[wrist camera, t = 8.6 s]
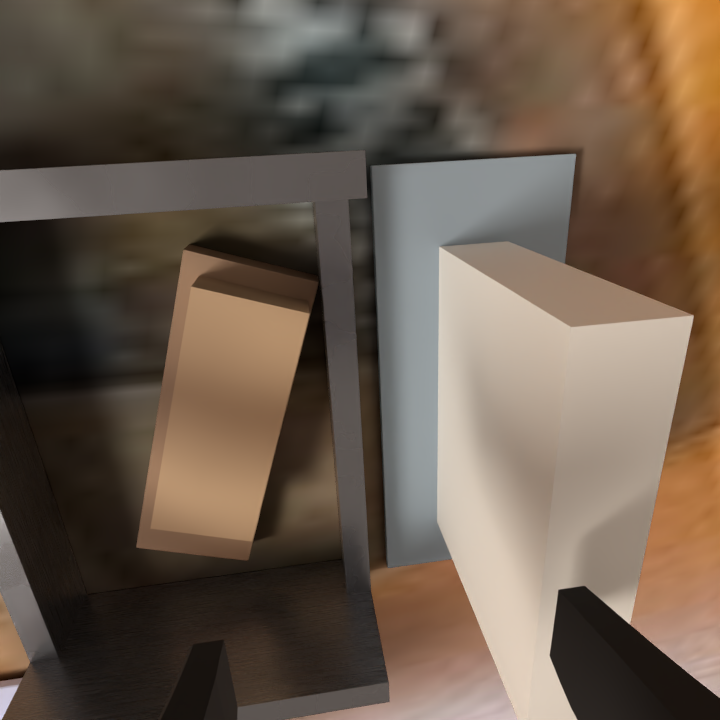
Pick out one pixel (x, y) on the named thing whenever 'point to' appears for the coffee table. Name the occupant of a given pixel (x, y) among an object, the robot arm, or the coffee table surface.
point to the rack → (209, 595)
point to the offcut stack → (222, 401)
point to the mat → (421, 305)
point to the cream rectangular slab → (547, 445)
